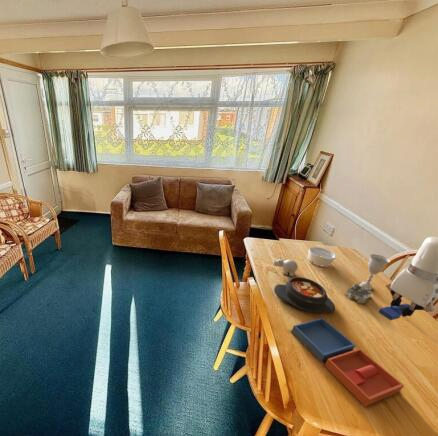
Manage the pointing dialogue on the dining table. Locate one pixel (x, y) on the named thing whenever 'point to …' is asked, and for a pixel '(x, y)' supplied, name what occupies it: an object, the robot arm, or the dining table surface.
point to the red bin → (373, 386)
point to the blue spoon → (393, 311)
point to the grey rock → (358, 293)
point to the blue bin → (322, 339)
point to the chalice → (374, 268)
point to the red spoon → (362, 374)
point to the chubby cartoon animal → (287, 266)
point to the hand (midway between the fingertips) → (399, 311)
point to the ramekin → (320, 260)
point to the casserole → (305, 295)
